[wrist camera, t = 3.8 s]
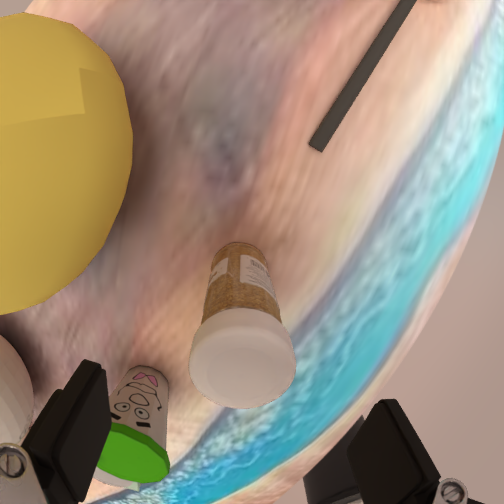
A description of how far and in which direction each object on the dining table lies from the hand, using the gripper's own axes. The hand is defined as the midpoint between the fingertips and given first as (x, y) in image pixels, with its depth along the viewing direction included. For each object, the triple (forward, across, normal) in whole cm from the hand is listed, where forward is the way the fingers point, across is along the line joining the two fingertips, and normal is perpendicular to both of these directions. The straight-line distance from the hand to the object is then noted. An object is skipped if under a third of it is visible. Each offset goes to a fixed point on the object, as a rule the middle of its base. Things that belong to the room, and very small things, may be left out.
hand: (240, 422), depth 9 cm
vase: (+17, +16, -6) cm, 24 cm away
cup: (+16, +7, +14) cm, 23 cm away
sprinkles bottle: (+16, 0, 0) cm, 17 cm away
